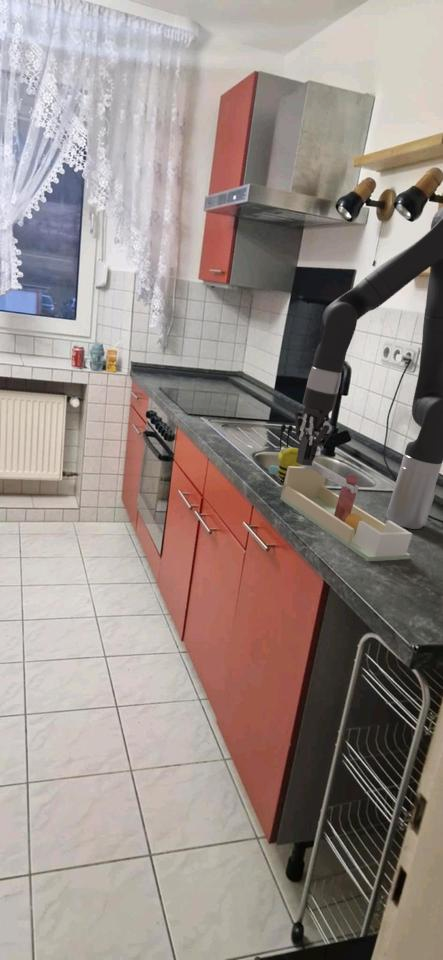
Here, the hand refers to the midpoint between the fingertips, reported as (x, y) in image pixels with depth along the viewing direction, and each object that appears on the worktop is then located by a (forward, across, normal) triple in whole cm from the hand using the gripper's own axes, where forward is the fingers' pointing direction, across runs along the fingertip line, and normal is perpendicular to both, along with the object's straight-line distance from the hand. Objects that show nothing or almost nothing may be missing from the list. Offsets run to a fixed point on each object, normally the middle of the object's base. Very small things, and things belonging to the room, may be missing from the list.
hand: (305, 457), depth 151 cm
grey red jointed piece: (+11, -7, -2) cm, 13 cm away
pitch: (+12, -14, -4) cm, 19 cm away
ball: (+9, -18, -4) cm, 21 cm away
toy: (+12, +18, -8) cm, 23 cm away
